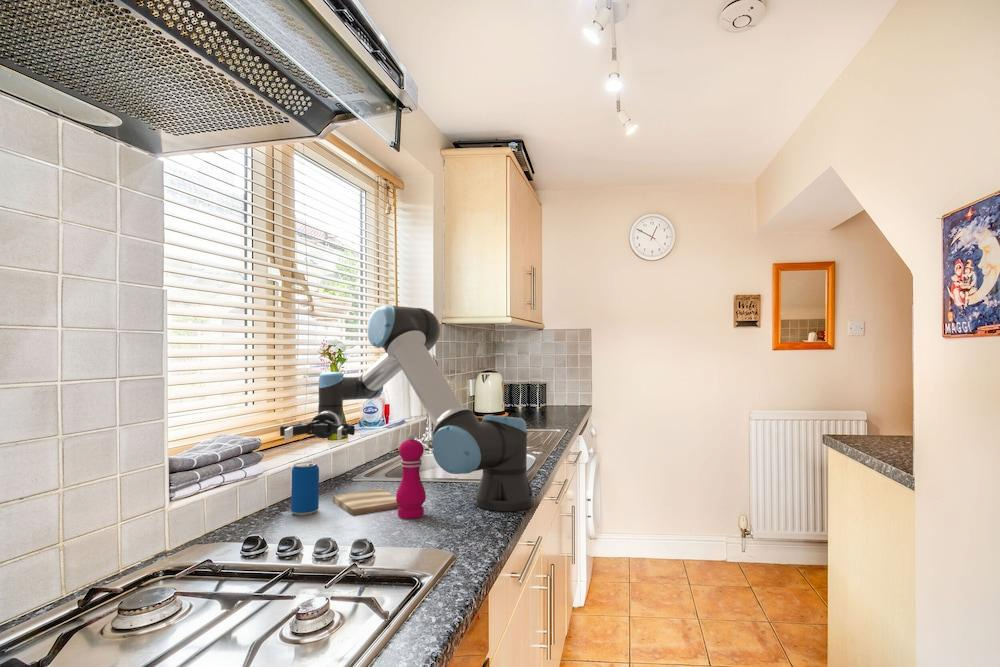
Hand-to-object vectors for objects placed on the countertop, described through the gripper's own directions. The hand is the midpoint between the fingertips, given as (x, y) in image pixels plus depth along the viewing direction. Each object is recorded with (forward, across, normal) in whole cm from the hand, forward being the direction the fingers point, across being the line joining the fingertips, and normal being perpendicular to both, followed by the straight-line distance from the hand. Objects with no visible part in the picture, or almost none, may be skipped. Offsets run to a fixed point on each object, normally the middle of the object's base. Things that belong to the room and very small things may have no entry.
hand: (312, 434), depth 150 cm
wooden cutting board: (+4, -15, -18) cm, 24 cm away
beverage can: (+10, 0, -18) cm, 21 cm away
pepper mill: (+17, -26, -18) cm, 36 cm away
